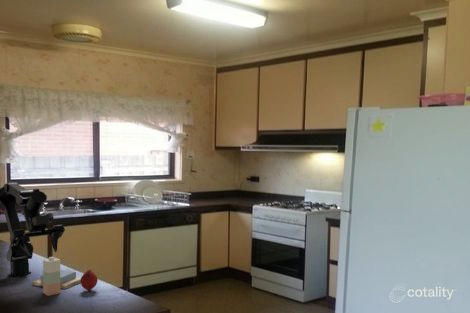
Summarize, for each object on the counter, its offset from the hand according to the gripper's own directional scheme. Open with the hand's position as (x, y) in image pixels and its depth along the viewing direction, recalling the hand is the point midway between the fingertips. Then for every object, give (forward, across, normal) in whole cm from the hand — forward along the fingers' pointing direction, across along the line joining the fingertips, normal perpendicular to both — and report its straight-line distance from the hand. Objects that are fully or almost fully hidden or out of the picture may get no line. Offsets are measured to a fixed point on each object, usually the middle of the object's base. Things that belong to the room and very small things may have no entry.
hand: (43, 253), depth 172 cm
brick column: (+15, 0, +3) cm, 15 cm away
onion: (+19, +11, -2) cm, 22 cm away
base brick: (+7, +7, +10) cm, 14 cm away
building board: (+8, +7, +11) cm, 15 cm away
